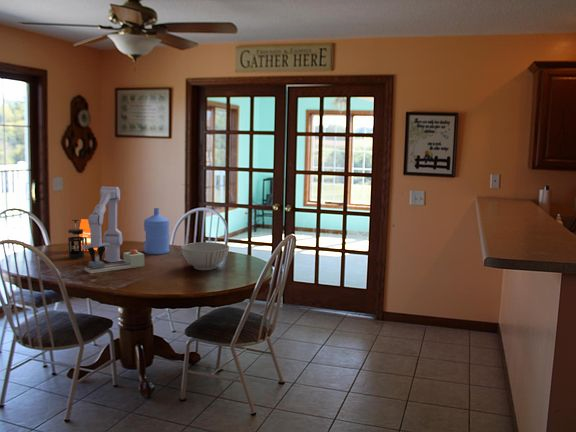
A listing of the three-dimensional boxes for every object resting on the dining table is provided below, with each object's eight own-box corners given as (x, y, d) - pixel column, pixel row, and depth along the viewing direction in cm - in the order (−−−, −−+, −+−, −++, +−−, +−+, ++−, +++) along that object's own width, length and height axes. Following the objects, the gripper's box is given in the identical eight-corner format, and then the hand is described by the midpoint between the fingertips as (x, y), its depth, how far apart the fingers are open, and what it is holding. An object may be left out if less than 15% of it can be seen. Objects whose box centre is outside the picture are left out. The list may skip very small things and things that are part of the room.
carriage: (88, 265, 307) (88, 254, 306) (99, 264, 311) (99, 253, 310) (93, 268, 302) (93, 257, 301) (104, 266, 305) (104, 255, 305)
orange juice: (93, 252, 354) (92, 220, 351) (79, 251, 354) (78, 220, 351) (97, 249, 361) (97, 218, 359) (84, 249, 362) (83, 218, 359)
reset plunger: (129, 256, 320) (129, 249, 319) (135, 255, 322) (135, 249, 322) (132, 257, 317) (132, 250, 317) (138, 257, 319) (138, 250, 319)
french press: (72, 260, 330) (70, 221, 327) (64, 257, 336) (62, 219, 333) (90, 257, 339) (89, 219, 335) (82, 254, 345) (81, 217, 341)
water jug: (174, 251, 360) (174, 208, 356) (156, 255, 347) (156, 210, 343) (157, 248, 368) (156, 206, 364) (138, 252, 355) (138, 208, 351)
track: (84, 270, 307) (84, 257, 306) (136, 262, 327) (136, 251, 326) (91, 273, 300) (90, 260, 299) (144, 266, 319) (144, 254, 318)
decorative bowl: (221, 274, 304) (221, 252, 302) (173, 271, 309) (173, 249, 307) (234, 263, 330) (234, 243, 328) (190, 261, 335) (190, 241, 333)
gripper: (85, 238, 296) (86, 263, 298) (111, 236, 305) (112, 260, 307) (80, 236, 302) (81, 261, 303) (106, 234, 311) (107, 258, 313)
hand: (96, 260), depth 306 cm, fingers closed on carriage, 3 cm apart
